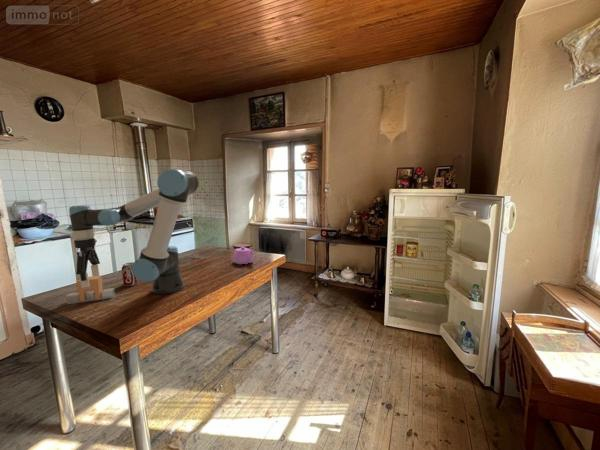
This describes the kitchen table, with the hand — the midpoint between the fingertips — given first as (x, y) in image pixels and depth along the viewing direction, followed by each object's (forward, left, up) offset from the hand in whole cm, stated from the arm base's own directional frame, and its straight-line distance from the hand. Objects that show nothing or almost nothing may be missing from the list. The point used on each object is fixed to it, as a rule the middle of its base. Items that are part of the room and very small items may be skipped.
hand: (91, 282), depth 123 cm
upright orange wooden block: (+1, 0, -8) cm, 8 cm away
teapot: (-78, -32, -9) cm, 85 cm away
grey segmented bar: (+1, 0, -9) cm, 9 cm away
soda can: (-12, -15, -9) cm, 22 cm away
